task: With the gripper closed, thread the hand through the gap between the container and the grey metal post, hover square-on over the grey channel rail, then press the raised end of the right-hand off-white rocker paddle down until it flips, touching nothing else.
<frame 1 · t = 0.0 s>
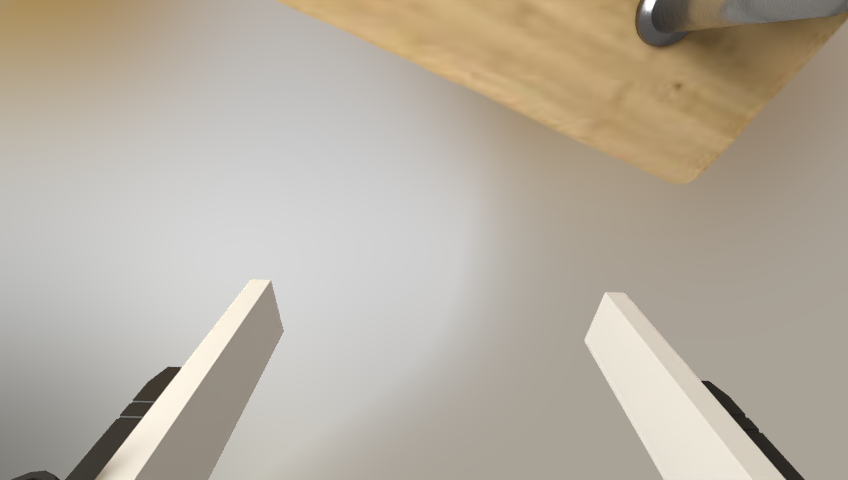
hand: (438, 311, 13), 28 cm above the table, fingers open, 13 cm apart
post: (667, 9, 30), on the table
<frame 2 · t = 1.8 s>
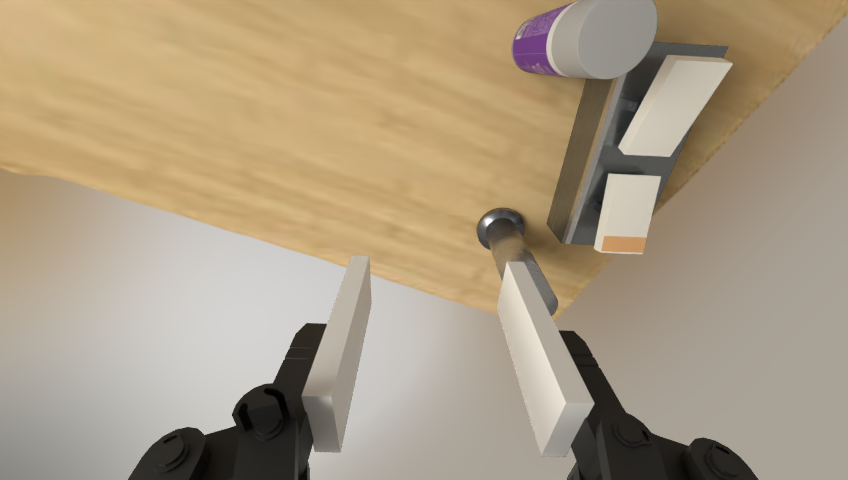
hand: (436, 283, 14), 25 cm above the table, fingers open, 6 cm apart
paddle b: (668, 110, 27), point 7 cm above the table, hinge at 15.0°
container: (534, 45, 31), on the table
paddle a: (626, 214, 32), point 7 cm above the table, hinge at -15.0°
grey channel rail: (606, 148, 36), on the table
post: (499, 228, 41), on the table
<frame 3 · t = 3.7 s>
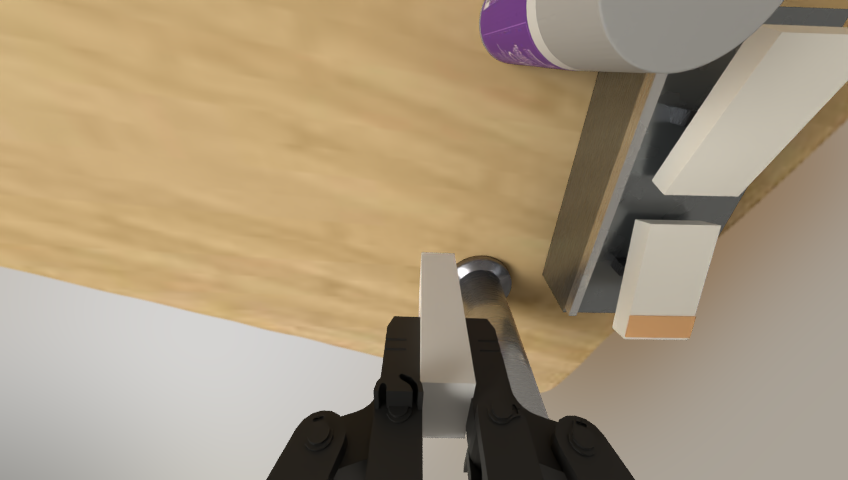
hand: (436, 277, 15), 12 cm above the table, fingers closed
paddle b: (745, 123, 16), point 7 cm above the table, hinge at 15.0°
container: (515, 20, 20), on the table
paddle a: (662, 281, 21), point 7 cm above the table, hinge at -15.0°
grey channel rail: (627, 173, 24), on the table
post: (477, 281, 30), on the table
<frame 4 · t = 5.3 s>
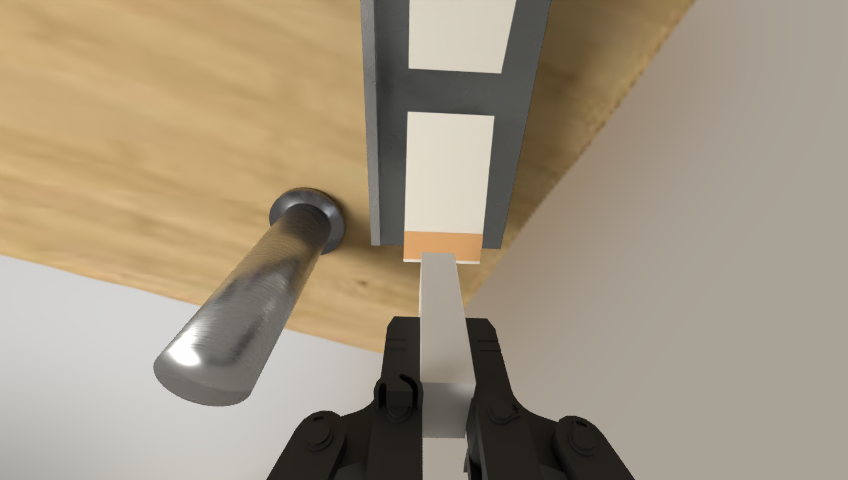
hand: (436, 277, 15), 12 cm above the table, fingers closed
paddle a: (445, 191, 17), point 7 cm above the table, hinge at -15.0°
grey channel rail: (443, 82, 21), on the table
post: (309, 221, 26), on the table
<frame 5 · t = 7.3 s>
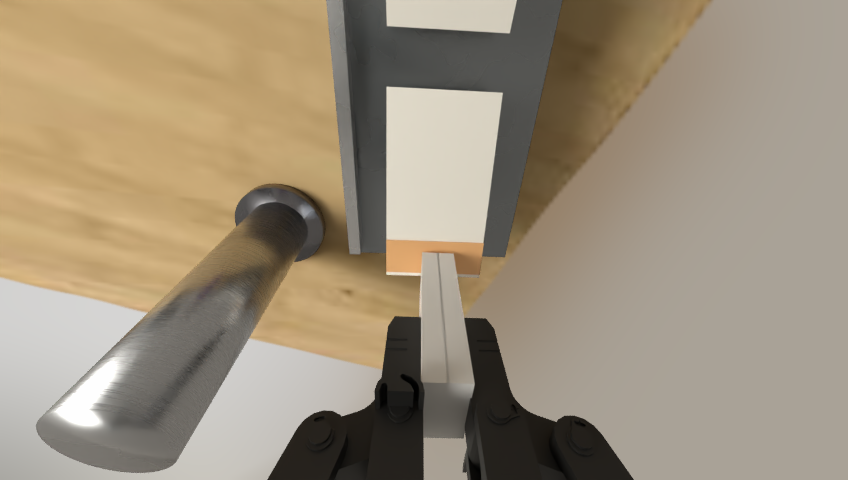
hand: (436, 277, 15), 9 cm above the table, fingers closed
paddle a: (437, 190, 14), point 7 cm above the table, hinge at -9.0°, touching gripper
grey channel rail: (437, 56, 17), on the table
post: (283, 222, 23), on the table
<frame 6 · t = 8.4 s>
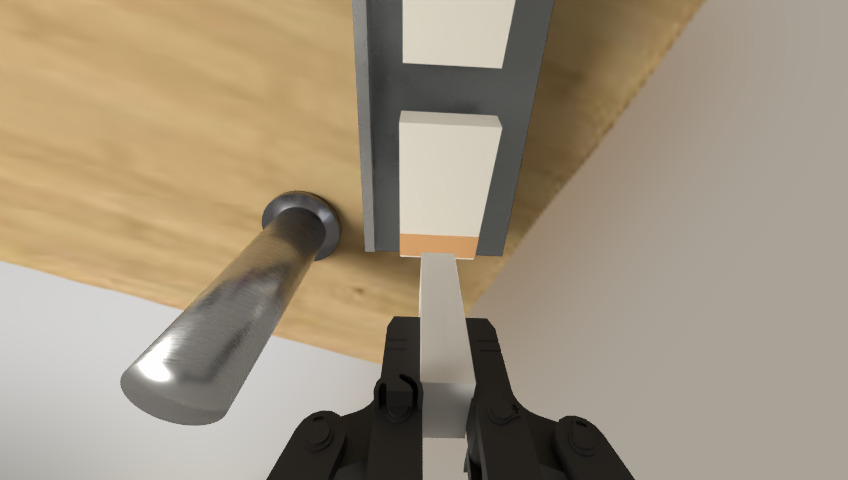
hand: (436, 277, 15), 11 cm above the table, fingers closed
paddle a: (442, 195, 16), point 7 cm above the table, hinge at 12.2°
grey channel rail: (443, 81, 20), on the table
post: (304, 225, 25), on the table
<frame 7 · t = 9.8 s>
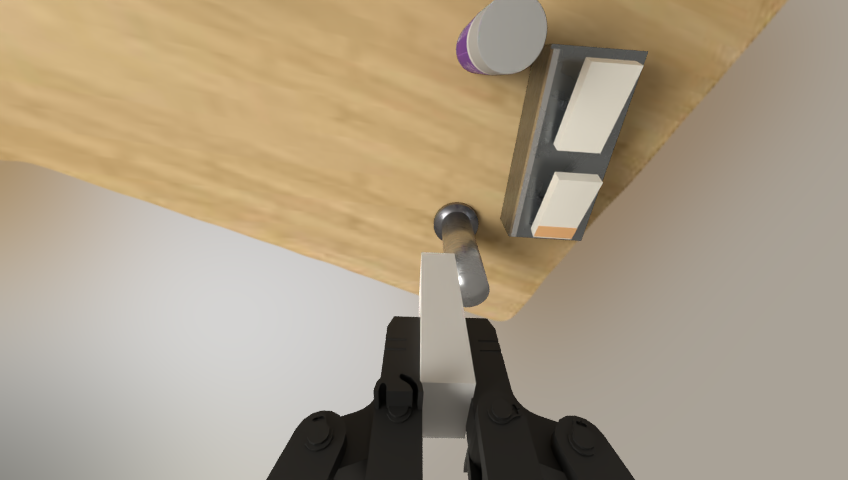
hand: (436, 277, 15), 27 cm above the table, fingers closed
paddle b: (593, 109, 29), point 7 cm above the table, hinge at 15.0°
container: (477, 48, 33), on the table
paddle a: (563, 208, 34), point 7 cm above the table, hinge at 17.0°
grey channel rail: (552, 146, 38), on the table
post: (455, 222, 43), on the table
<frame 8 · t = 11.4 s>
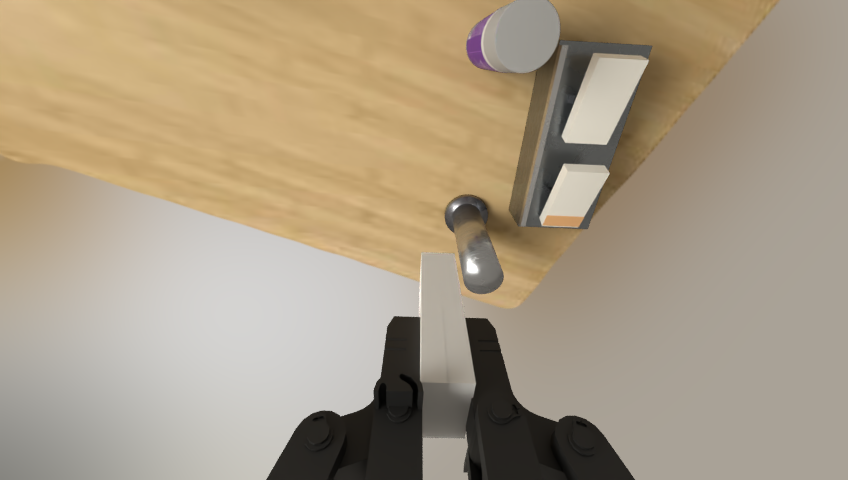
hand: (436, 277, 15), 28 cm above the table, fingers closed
paddle b: (600, 102, 30), point 7 cm above the table, hinge at 15.0°
container: (487, 44, 34), on the table
paddle a: (571, 198, 35), point 7 cm above the table, hinge at 18.0°
grey channel rail: (558, 138, 39), on the table
post: (465, 214, 44), on the table
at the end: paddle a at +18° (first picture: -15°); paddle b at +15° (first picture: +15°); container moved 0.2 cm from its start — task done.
